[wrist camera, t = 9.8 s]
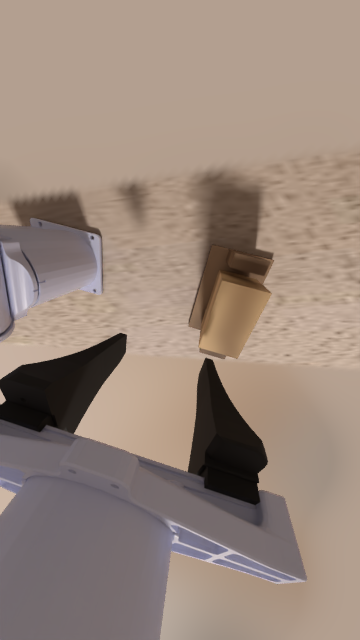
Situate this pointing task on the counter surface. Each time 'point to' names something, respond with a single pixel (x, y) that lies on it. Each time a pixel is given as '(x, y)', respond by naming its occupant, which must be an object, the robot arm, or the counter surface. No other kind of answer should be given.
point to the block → (232, 313)
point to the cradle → (230, 263)
